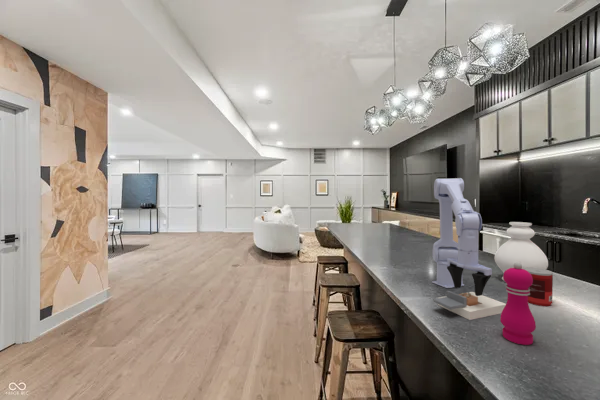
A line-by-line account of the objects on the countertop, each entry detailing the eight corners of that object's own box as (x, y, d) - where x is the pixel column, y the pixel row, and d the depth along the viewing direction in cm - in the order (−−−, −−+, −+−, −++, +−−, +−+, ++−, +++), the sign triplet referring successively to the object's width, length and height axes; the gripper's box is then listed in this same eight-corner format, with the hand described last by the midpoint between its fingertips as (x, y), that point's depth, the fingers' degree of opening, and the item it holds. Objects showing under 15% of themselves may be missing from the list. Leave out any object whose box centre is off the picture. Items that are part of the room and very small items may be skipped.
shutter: (448, 298, 92) (448, 290, 92) (466, 306, 86) (466, 297, 86) (433, 301, 90) (433, 293, 90) (450, 309, 83) (450, 300, 83)
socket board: (472, 298, 99) (472, 291, 99) (507, 312, 88) (507, 304, 88) (437, 305, 94) (437, 297, 94) (469, 320, 82) (469, 311, 82)
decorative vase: (527, 275, 125) (527, 220, 125) (560, 289, 108) (560, 225, 107) (485, 274, 127) (486, 220, 127) (511, 288, 109) (511, 225, 109)
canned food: (545, 299, 98) (545, 268, 98) (557, 307, 90) (558, 274, 90) (519, 296, 101) (519, 266, 100) (529, 305, 93) (529, 272, 93)
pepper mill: (493, 332, 75) (493, 259, 75) (518, 331, 76) (518, 258, 75) (516, 347, 68) (516, 266, 67) (543, 345, 69) (544, 265, 68)
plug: (466, 306, 93) (466, 290, 93) (477, 311, 89) (477, 295, 89) (456, 307, 92) (456, 292, 91) (468, 313, 88) (468, 296, 87)
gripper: (440, 246, 95) (440, 285, 96) (480, 255, 82) (479, 301, 82) (455, 245, 98) (455, 283, 98) (496, 253, 84) (496, 297, 84)
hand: (467, 291), depth 90 cm, fingers open, 7 cm apart
